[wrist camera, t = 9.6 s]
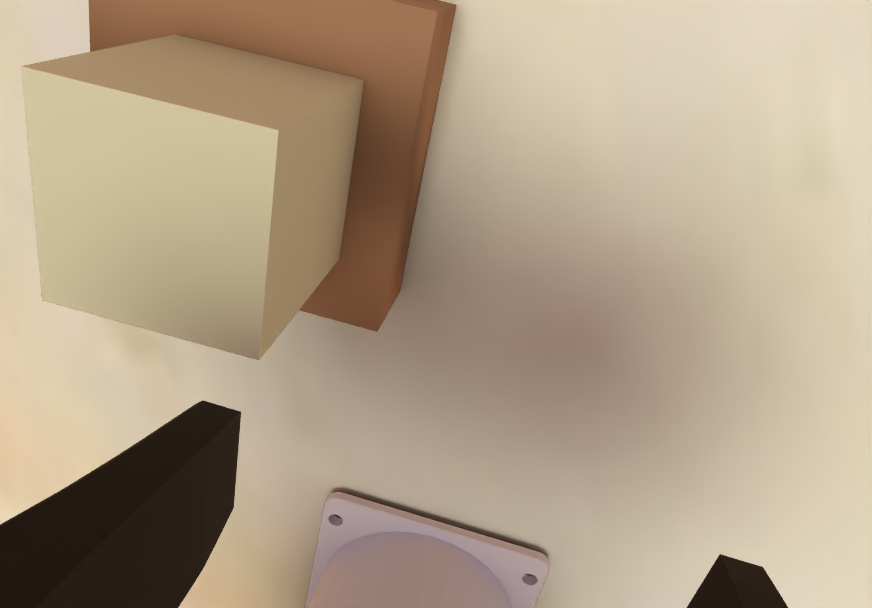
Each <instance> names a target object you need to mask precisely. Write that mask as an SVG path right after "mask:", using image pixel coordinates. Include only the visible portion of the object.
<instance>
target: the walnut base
mask: <svg viewBox="0 0 872 608" xmlns="http://www.w3.org/2000/svg"><path fill="white" fill-rule="evenodd" d="M455 9H456V5H455V4H450V3H446V2H442V1H438V0H89V24H90V52H93V51H98V50H103V49H107V48H112V47H117V46H122V45H127V44H132V43H137V42H141V41H146V40H151V39H156V38H161V37H166V36H171V35H175V34H176V35H180V36H184V37H188V38H192V39H197V40H201V41H205V42H209V43H213V44H217V45H222V46H226V47H230V48H234V49H238V50H242V51H246V52H251V53H255V54H259V55H263V56H267V57H271V58H276V59H280V60H284V61H288V62H292V63H296V64H300V65H305V66H309V67H313V68H317V69H321V70H325V71H330V72H334V73H338V74H342V75H346V76H350V77H355V78H359V79H363V80H364V85H363V92H362V99H361V106H360V114H359V121H358V128H357V135H356V142H355V149H354V157H353V164H352V171H351V178H350V185H349V192H348V200H347V207H346V214H345V221H344V228H343V236H342V243H341V250H340V257H339V260H338V261H337V263H336V264H335V265H334V266H333V268H332V269H331V270H330V271H329V273H328V274H327V275H326V276H325V278H324V279H323V280H322V281H321V283H320V284H319V285H318V286H317V288H316V289H315V290H314V292H313V293H312V294H311V295H310V297H309V298H308V299H307V300H306V302H305V303H304V304H303V305H302V307H301V308H300V309H299V310H301V311H304V312H308V313H312V314H315V315H319V316H322V317H326V318H330V319H333V320H337V321H341V322H344V323H348V324H352V325H355V326H359V327H363V328H366V329H370V330H374V331H377V332H378V330H379V328H380V326H381V324H382V323H383V321H384V319H385V317H386V315H387V313H388V312H389V310H390V308H391V306H392V304H393V302H394V301H395V299H396V297H397V295H398V293H399V292H400V287H401V282H402V277H403V272H404V267H405V262H406V256H407V251H408V246H409V241H410V236H411V231H412V226H413V221H414V216H415V211H416V206H417V201H418V196H419V191H420V186H421V181H422V176H423V171H424V166H425V161H426V156H427V151H428V146H429V141H430V135H431V130H432V125H433V120H434V115H435V110H436V105H437V100H438V95H439V90H440V85H441V80H442V75H443V70H444V65H445V60H446V55H447V50H448V45H449V40H450V35H451V30H452V25H453V20H454V14H455Z"/></svg>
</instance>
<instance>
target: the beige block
mask: <svg viewBox="0 0 872 608" xmlns="http://www.w3.org/2000/svg"><path fill="white" fill-rule="evenodd" d="M21 70H22V81H23V92H24V103H25V114H26V126H27V137H28V148H29V159H30V170H31V181H32V192H33V203H34V215H35V226H36V237H37V248H38V259H39V270H40V281H41V293H42V301H46V302H49V303H53V304H57V305H60V306H64V307H68V308H71V309H75V310H78V311H82V312H86V313H89V314H93V315H97V316H100V317H104V318H108V319H111V320H115V321H118V322H122V323H126V324H129V325H133V326H137V327H140V328H144V329H148V330H151V331H155V332H158V333H162V334H166V335H169V336H173V337H177V338H180V339H184V340H187V341H191V342H195V343H198V344H202V345H206V346H209V347H213V348H217V349H220V350H224V351H227V352H231V353H235V354H238V355H242V356H246V357H249V358H253V359H256V360H260V358H261V357H262V356H263V355H264V353H265V352H266V351H267V350H268V348H269V347H270V346H271V345H272V343H273V342H274V341H275V340H276V338H277V337H278V336H279V334H280V333H281V332H282V331H283V329H284V328H285V327H286V326H287V324H288V323H289V322H290V321H291V319H292V318H293V317H294V316H295V314H296V313H297V312H298V310H299V309H300V308H301V307H302V305H303V304H304V303H305V302H306V300H307V299H308V298H309V297H310V295H311V294H312V293H313V292H314V290H315V289H316V288H317V286H318V285H319V284H320V283H321V281H322V280H323V279H324V278H325V276H326V275H327V274H328V273H329V271H330V270H331V269H332V268H333V266H334V265H335V264H336V263H337V261H338V260H339V257H340V250H341V243H342V236H343V228H344V221H345V214H346V207H347V200H348V192H349V185H350V178H351V171H352V164H353V157H354V149H355V142H356V135H357V128H358V121H359V114H360V106H361V99H362V92H363V85H364V80H363V79H359V78H355V77H350V76H346V75H342V74H338V73H334V72H330V71H325V70H321V69H317V68H313V67H309V66H305V65H300V64H296V63H292V62H288V61H284V60H280V59H276V58H271V57H267V56H263V55H259V54H255V53H251V52H246V51H242V50H238V49H234V48H230V47H226V46H222V45H217V44H213V43H209V42H205V41H201V40H197V39H192V38H188V37H184V36H180V35H176V34H175V35H171V36H166V37H161V38H156V39H151V40H146V41H141V42H137V43H132V44H127V45H122V46H117V47H112V48H107V49H103V50H98V51H93V52H88V53H83V54H78V55H74V56H69V57H64V58H59V59H54V60H49V61H44V62H40V63H35V64H30V65H25V66H21Z"/></svg>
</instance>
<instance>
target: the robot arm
mask: <svg viewBox="0 0 872 608" xmlns="http://www.w3.org/2000/svg"><path fill="white" fill-rule="evenodd" d="M240 418H241V412H240V411H236V410H233V409H229V408H226V407H223V406H219V405H216V404H213V403H209V402H206V401H201V402H199V403H197V404H195V405H194V406H192V407H191V408H189V409H187V410H186V411H184V412H183V413H181V414H180V415H178V416H177V417H175V418H174V419H172V420H171V421H169V422H168V423H166V424H165V425H163V426H162V427H160V428H159V429H157V430H156V431H154V432H153V433H151V434H150V435H148V436H147V437H145V438H144V439H142V440H141V441H139V442H138V443H136V444H134V445H133V446H131V447H130V448H128V449H127V450H125V451H124V452H122V453H121V454H119V455H118V456H116V457H114V458H113V459H111V460H109V461H108V462H106V463H105V464H103V465H101V466H100V467H98V468H97V469H95V470H93V471H92V472H90V473H88V474H87V475H85V476H84V477H82V478H80V479H79V480H77V481H76V482H74V483H72V484H71V485H69V486H67V487H66V488H64V489H62V490H61V491H59V492H57V493H55V494H54V495H52V496H50V497H48V498H47V499H45V500H43V501H41V502H40V503H38V504H36V505H34V506H32V507H31V508H29V509H27V510H25V511H24V512H22V513H20V514H18V515H16V516H15V517H13V518H11V519H9V520H8V521H6V522H4V523H2V524H1V525H0V608H178V607H179V605H180V604H181V602H182V601H183V599H184V598H185V596H186V595H187V593H188V592H189V590H190V588H191V587H192V585H193V584H194V582H195V581H196V579H197V577H198V576H199V574H200V573H201V571H202V570H203V568H204V566H205V564H206V562H207V560H208V558H209V556H210V554H211V552H212V550H213V548H214V546H215V544H216V542H217V540H218V538H219V536H220V534H221V532H222V530H223V528H224V526H225V524H226V522H227V520H228V518H229V516H230V514H231V512H232V510H233V508H234V496H235V483H236V470H237V457H238V444H239V431H240ZM333 514H334V515H338V516H340V517H341V518H337V517H336V516H334V515H333ZM548 570H549V561H548V558H547V557H546V556H545V555H544V554H542V553H540V552H538V551H534V550H531V549H528V548H524V547H521V546H518V545H514V544H511V543H508V542H504V541H501V540H498V539H495V538H491V537H488V536H485V535H481V534H478V533H475V532H471V531H468V530H465V529H461V528H458V527H455V526H452V525H448V524H445V523H442V522H438V521H435V520H432V519H428V518H425V517H422V516H418V515H415V514H412V513H409V512H405V511H402V510H399V509H395V508H392V507H389V506H385V505H382V504H379V503H376V502H372V501H369V500H366V499H362V498H359V497H356V496H352V495H349V494H346V493H342V492H334V493H331V494H330V495H329V496H328V498H327V500H326V502H325V504H324V509H323V515H322V520H321V525H320V531H319V536H318V542H317V547H316V552H315V558H314V563H313V569H312V574H311V579H310V585H309V590H308V596H307V601H306V606H305V608H534V605H535V603H536V601H537V598H538V596H539V594H540V591H541V589H542V586H543V584H544V582H545V579H546V577H547V574H548ZM526 574H532V575H534V576H528V575H526ZM687 608H788V607H787V605H786V603H785V602H784V600H783V598H782V597H781V595H780V594H779V592H778V590H777V589H776V587H775V586H774V584H773V582H772V581H771V579H770V578H769V576H768V575H767V573H766V571H765V570H764V568H763V567H761V566H757V565H754V564H751V563H747V562H744V561H741V560H737V559H734V558H731V557H727V556H724V555H719V557H718V558H717V560H716V561H715V563H714V565H713V566H712V568H711V569H710V571H709V573H708V574H707V576H706V578H705V579H704V581H703V582H702V584H701V586H700V587H699V589H698V590H697V592H696V594H695V595H694V597H693V599H692V600H691V602H690V603H689V605H688V607H687Z"/></svg>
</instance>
